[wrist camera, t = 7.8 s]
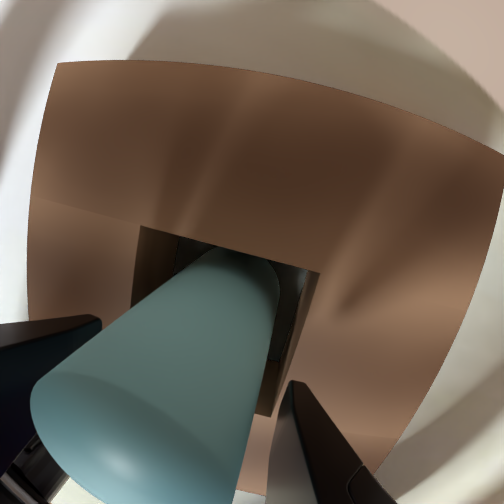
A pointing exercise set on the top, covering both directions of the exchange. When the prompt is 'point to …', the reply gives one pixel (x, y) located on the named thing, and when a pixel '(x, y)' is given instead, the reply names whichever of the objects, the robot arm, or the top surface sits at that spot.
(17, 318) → the top surface
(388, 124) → the socket block
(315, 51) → the top surface
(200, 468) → the peg
